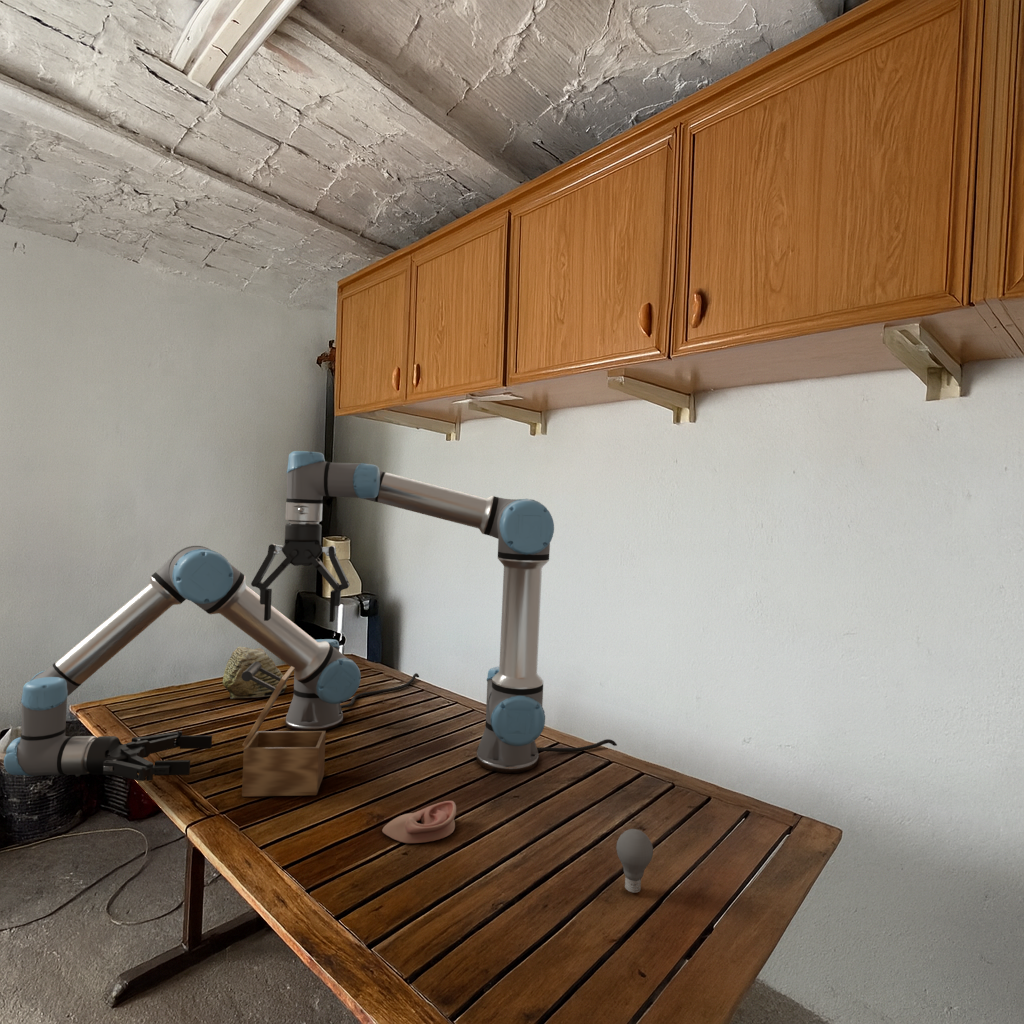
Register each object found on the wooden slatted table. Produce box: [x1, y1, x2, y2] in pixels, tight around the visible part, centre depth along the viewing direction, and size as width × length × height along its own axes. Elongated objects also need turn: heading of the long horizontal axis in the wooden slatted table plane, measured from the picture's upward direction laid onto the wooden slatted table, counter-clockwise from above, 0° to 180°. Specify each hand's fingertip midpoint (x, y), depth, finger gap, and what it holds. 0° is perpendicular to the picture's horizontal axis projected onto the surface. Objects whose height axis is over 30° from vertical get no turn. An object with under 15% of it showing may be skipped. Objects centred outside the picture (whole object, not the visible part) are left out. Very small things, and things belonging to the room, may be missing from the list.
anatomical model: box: [381, 800, 457, 844], centre depth 122 cm, size 13×4×12 cm
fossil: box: [222, 646, 288, 699], centre depth 198 cm, size 9×18×15 cm, turn 132°
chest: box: [241, 730, 327, 798], centre depth 138 cm, size 15×10×10 cm, turn 98°
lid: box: [241, 662, 294, 748], centre depth 137 cm, size 16×10×8 cm
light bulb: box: [615, 828, 654, 894], centre depth 106 cm, size 6×6×10 cm
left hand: (201, 754), depth 136 cm, fingers open, 13 cm apart
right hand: (299, 620), depth 138 cm, fingers open, 13 cm apart
